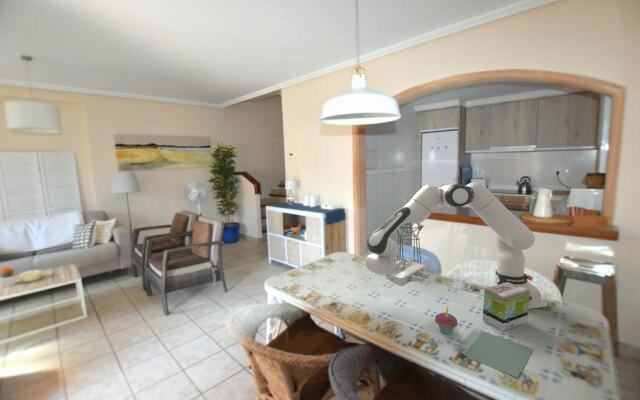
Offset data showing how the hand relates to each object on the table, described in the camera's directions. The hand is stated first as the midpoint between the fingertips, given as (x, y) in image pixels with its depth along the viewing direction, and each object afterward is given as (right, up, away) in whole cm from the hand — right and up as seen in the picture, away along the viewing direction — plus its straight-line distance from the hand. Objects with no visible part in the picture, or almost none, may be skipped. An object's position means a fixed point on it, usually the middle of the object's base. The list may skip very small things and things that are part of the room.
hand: (425, 278), depth 125 cm
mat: (+19, -22, -16) cm, 33 cm away
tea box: (+34, -19, +1) cm, 39 cm away
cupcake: (+7, -21, -4) cm, 22 cm away
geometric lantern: (+11, -11, +60) cm, 62 cm away
